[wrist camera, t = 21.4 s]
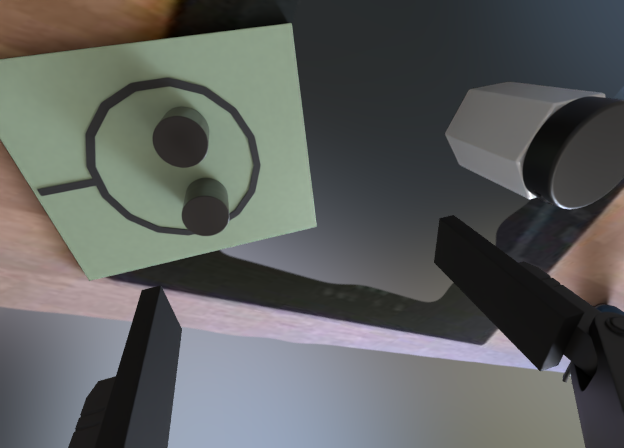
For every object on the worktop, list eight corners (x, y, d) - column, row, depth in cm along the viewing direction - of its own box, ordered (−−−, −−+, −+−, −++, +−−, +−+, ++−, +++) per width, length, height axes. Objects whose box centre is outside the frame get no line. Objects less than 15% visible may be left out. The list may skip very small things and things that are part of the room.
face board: (289, 23, 24) (292, 22, 23) (314, 223, 33) (317, 227, 33) (-39, 64, 21) (-48, 65, 20) (91, 275, 30) (88, 281, 29)
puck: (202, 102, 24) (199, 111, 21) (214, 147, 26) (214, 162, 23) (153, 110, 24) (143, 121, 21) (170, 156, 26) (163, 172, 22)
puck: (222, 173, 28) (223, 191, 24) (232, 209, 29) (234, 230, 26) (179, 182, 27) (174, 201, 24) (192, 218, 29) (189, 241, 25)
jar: (440, 170, 34) (533, 222, 24) (447, 91, 30) (564, 114, 20) (510, 154, 36) (626, 196, 26) (526, 76, 32) (673, 90, 22)
